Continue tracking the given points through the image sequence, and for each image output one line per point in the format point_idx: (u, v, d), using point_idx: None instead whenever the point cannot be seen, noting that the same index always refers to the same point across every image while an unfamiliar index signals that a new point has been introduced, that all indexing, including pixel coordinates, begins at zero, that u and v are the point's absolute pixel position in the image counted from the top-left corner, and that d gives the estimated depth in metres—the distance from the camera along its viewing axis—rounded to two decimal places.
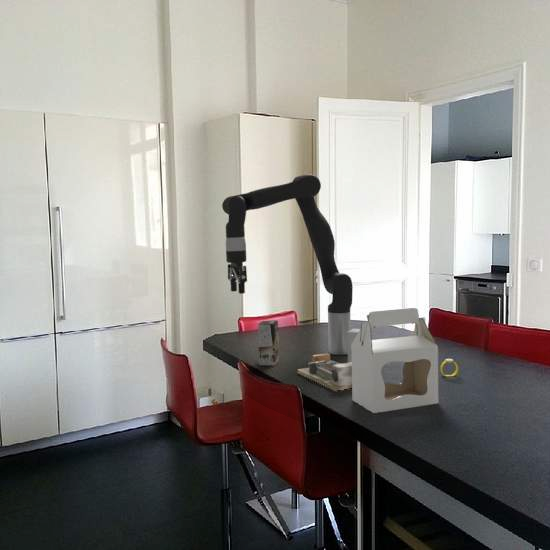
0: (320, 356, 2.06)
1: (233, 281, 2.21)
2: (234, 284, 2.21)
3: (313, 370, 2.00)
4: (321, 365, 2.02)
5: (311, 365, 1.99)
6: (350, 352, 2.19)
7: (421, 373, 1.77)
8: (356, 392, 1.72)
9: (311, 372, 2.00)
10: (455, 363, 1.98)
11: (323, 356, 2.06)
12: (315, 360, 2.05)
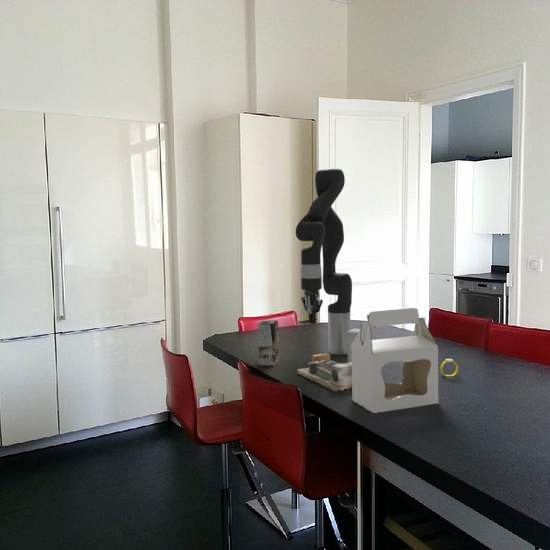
0: (320, 356, 2.06)
1: None
2: None
3: (313, 370, 2.00)
4: (321, 365, 2.02)
5: (311, 365, 1.99)
6: (350, 352, 2.19)
7: (421, 373, 1.77)
8: (356, 392, 1.72)
9: (311, 372, 2.00)
10: (455, 363, 1.98)
11: (323, 356, 2.06)
12: (315, 360, 2.05)
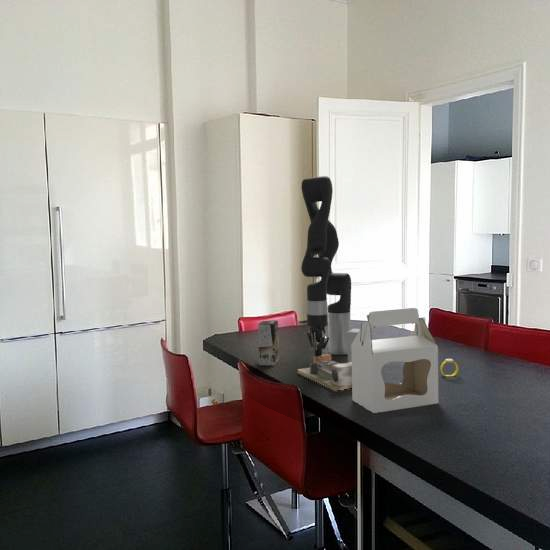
0: (321, 357, 2.05)
1: None
2: None
3: (314, 371, 1.99)
4: (322, 366, 2.01)
5: (312, 365, 1.99)
6: (350, 352, 2.19)
7: (421, 373, 1.77)
8: (356, 392, 1.72)
9: (312, 372, 1.99)
10: (455, 363, 1.98)
11: (324, 357, 2.06)
12: (317, 360, 2.04)
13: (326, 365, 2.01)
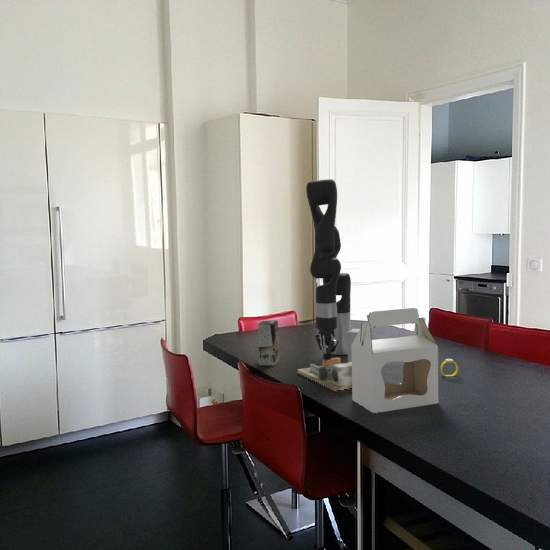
0: (330, 360, 1.99)
1: None
2: None
3: (323, 375, 1.93)
4: None
5: (321, 370, 1.93)
6: (350, 352, 2.19)
7: (421, 373, 1.77)
8: (356, 392, 1.72)
9: (321, 377, 1.93)
10: (455, 363, 1.98)
11: (333, 360, 2.00)
12: (326, 364, 1.98)
13: None
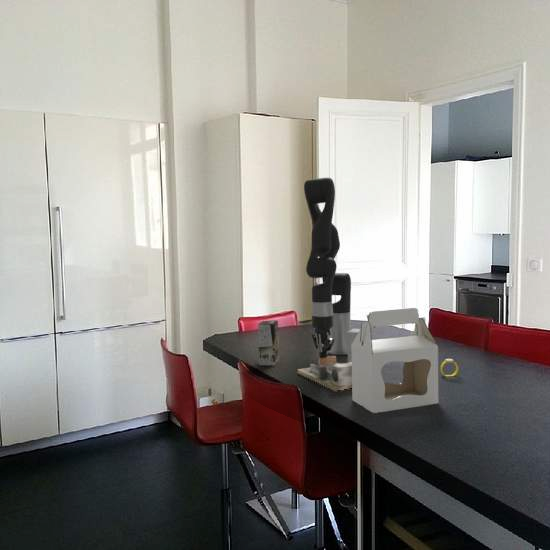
0: (326, 359, 2.02)
1: None
2: None
3: (323, 375, 1.93)
4: (327, 368, 1.98)
5: (321, 370, 1.93)
6: (350, 352, 2.19)
7: (421, 373, 1.77)
8: (356, 392, 1.72)
9: (321, 377, 1.93)
10: (455, 363, 1.98)
11: (329, 358, 2.02)
12: (321, 362, 2.01)
13: (331, 367, 1.98)
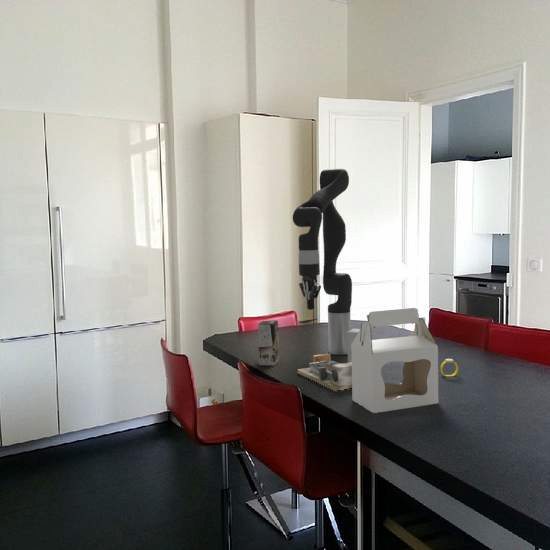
0: (321, 356, 2.05)
1: None
2: None
3: (323, 375, 1.93)
4: (322, 365, 2.01)
5: (321, 370, 1.93)
6: (350, 352, 2.19)
7: (421, 373, 1.77)
8: (356, 392, 1.72)
9: (321, 377, 1.93)
10: (455, 363, 1.98)
11: (324, 356, 2.06)
12: (316, 360, 2.05)
13: (325, 365, 2.02)
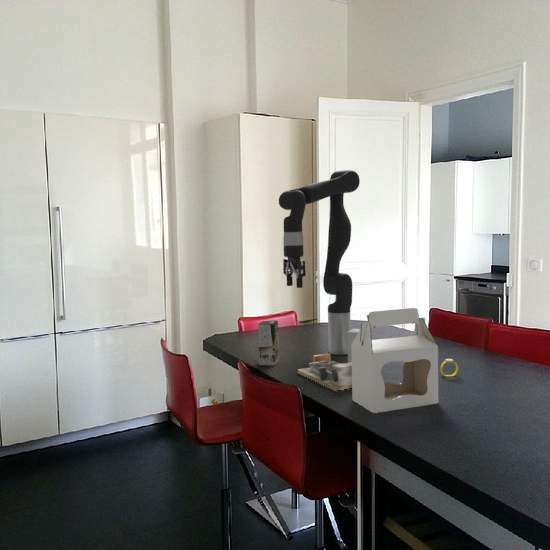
0: (321, 356, 2.05)
1: (289, 276, 2.22)
2: (290, 279, 2.22)
3: (323, 375, 1.93)
4: (322, 365, 2.01)
5: (321, 370, 1.93)
6: (350, 352, 2.19)
7: (421, 373, 1.77)
8: (356, 392, 1.72)
9: (321, 377, 1.93)
10: (455, 363, 1.98)
11: (324, 356, 2.06)
12: (316, 360, 2.05)
13: (325, 365, 2.02)
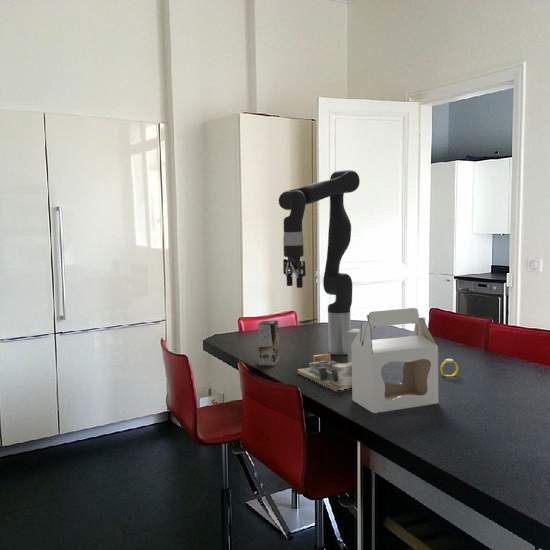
0: (321, 356, 2.05)
1: (289, 276, 2.22)
2: (290, 279, 2.22)
3: (323, 375, 1.93)
4: (322, 365, 2.01)
5: (321, 370, 1.93)
6: (350, 352, 2.19)
7: (421, 373, 1.77)
8: (356, 392, 1.72)
9: (321, 377, 1.93)
10: (455, 363, 1.98)
11: (324, 356, 2.06)
12: (316, 360, 2.05)
13: (325, 365, 2.02)
